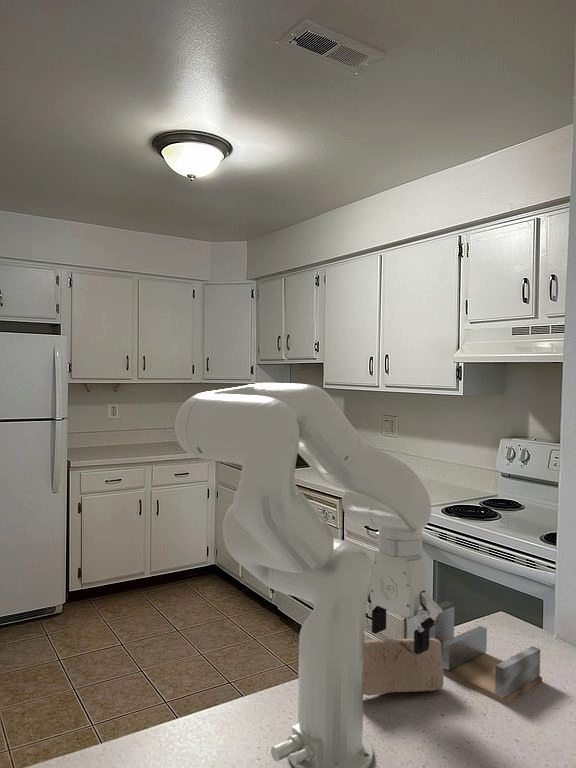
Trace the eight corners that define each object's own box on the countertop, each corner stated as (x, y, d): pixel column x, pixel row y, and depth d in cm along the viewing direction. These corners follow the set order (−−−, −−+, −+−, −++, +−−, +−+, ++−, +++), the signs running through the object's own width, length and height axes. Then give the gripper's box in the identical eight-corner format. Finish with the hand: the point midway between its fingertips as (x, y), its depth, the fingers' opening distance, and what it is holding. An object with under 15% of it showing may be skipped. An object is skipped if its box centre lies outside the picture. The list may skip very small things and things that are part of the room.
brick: (430, 636, 110) (444, 638, 106) (434, 686, 108) (448, 691, 103) (347, 639, 105) (358, 642, 101) (348, 691, 103) (359, 696, 99)
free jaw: (448, 670, 110) (449, 624, 110) (416, 654, 116) (417, 611, 115) (486, 652, 117) (487, 609, 117) (454, 638, 123) (455, 597, 123)
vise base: (505, 705, 101) (506, 669, 101) (412, 659, 116) (413, 629, 116) (542, 682, 108) (542, 650, 108) (450, 642, 124) (450, 614, 124)
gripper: (349, 537, 109) (349, 629, 109) (426, 562, 95) (425, 667, 96) (378, 530, 113) (377, 618, 114) (454, 553, 100) (453, 653, 101)
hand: (399, 640), depth 105 cm, fingers open, 9 cm apart
